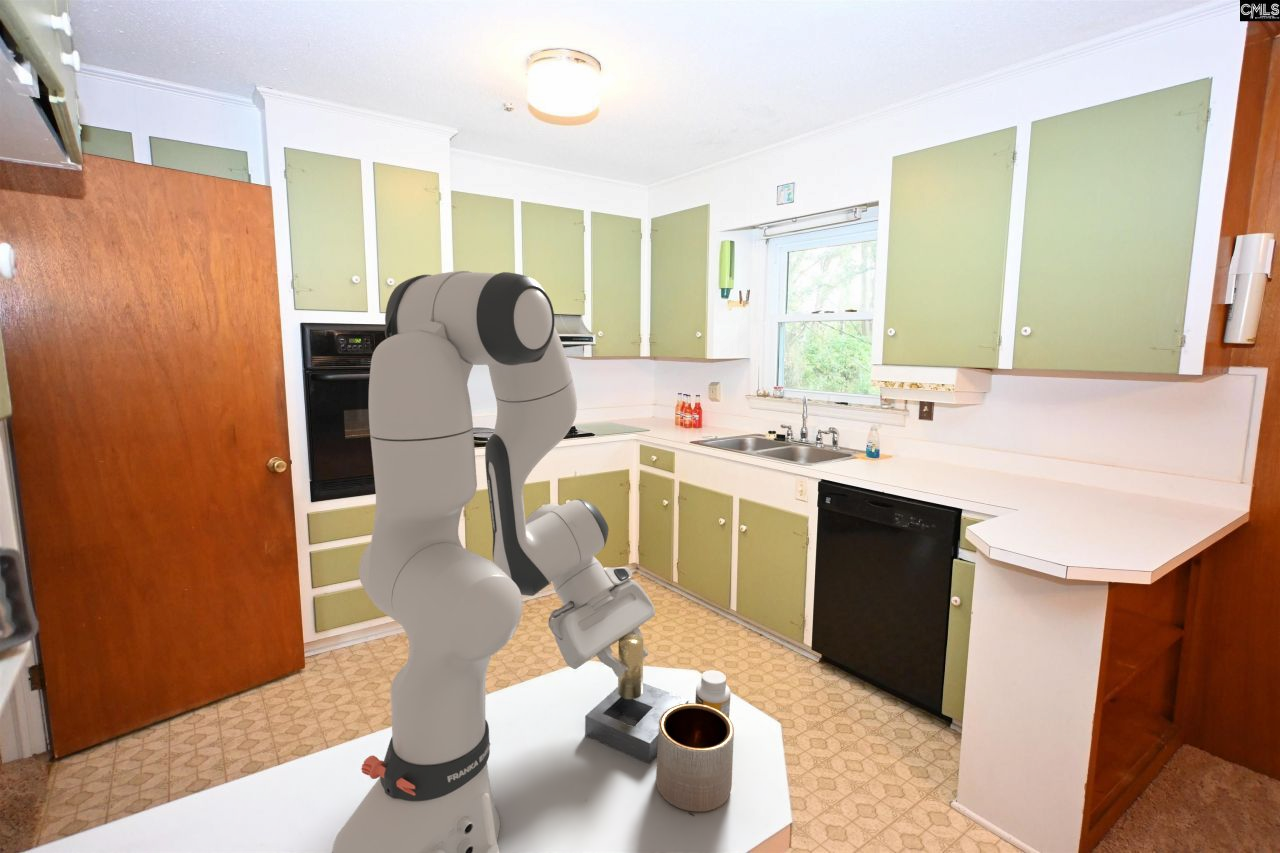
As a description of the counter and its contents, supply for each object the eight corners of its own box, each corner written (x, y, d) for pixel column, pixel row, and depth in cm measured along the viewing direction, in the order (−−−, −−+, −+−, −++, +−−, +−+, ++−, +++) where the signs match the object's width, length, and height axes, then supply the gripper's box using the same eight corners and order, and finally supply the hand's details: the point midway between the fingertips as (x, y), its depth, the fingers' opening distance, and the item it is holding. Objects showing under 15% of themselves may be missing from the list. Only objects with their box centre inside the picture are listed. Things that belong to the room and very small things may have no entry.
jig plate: (649, 764, 91) (650, 743, 90) (585, 735, 97) (585, 715, 96) (687, 718, 102) (688, 699, 101) (627, 695, 108) (628, 677, 107)
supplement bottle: (686, 733, 98) (689, 675, 97) (709, 719, 102) (711, 663, 100) (712, 750, 94) (716, 690, 93) (735, 735, 98) (738, 677, 96)
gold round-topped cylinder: (634, 702, 95) (635, 649, 94) (613, 693, 97) (613, 642, 96) (647, 689, 99) (648, 638, 97) (626, 681, 101) (627, 631, 99)
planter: (728, 762, 92) (732, 705, 90) (733, 819, 81) (737, 755, 80) (658, 756, 93) (660, 699, 91) (653, 811, 82) (655, 748, 80)
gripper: (553, 606, 91) (603, 688, 87) (634, 564, 107) (679, 632, 103) (533, 625, 94) (580, 705, 90) (614, 581, 111) (657, 647, 107)
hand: (633, 665), depth 97 cm, fingers closed on gold round-topped cylinder, 4 cm apart
